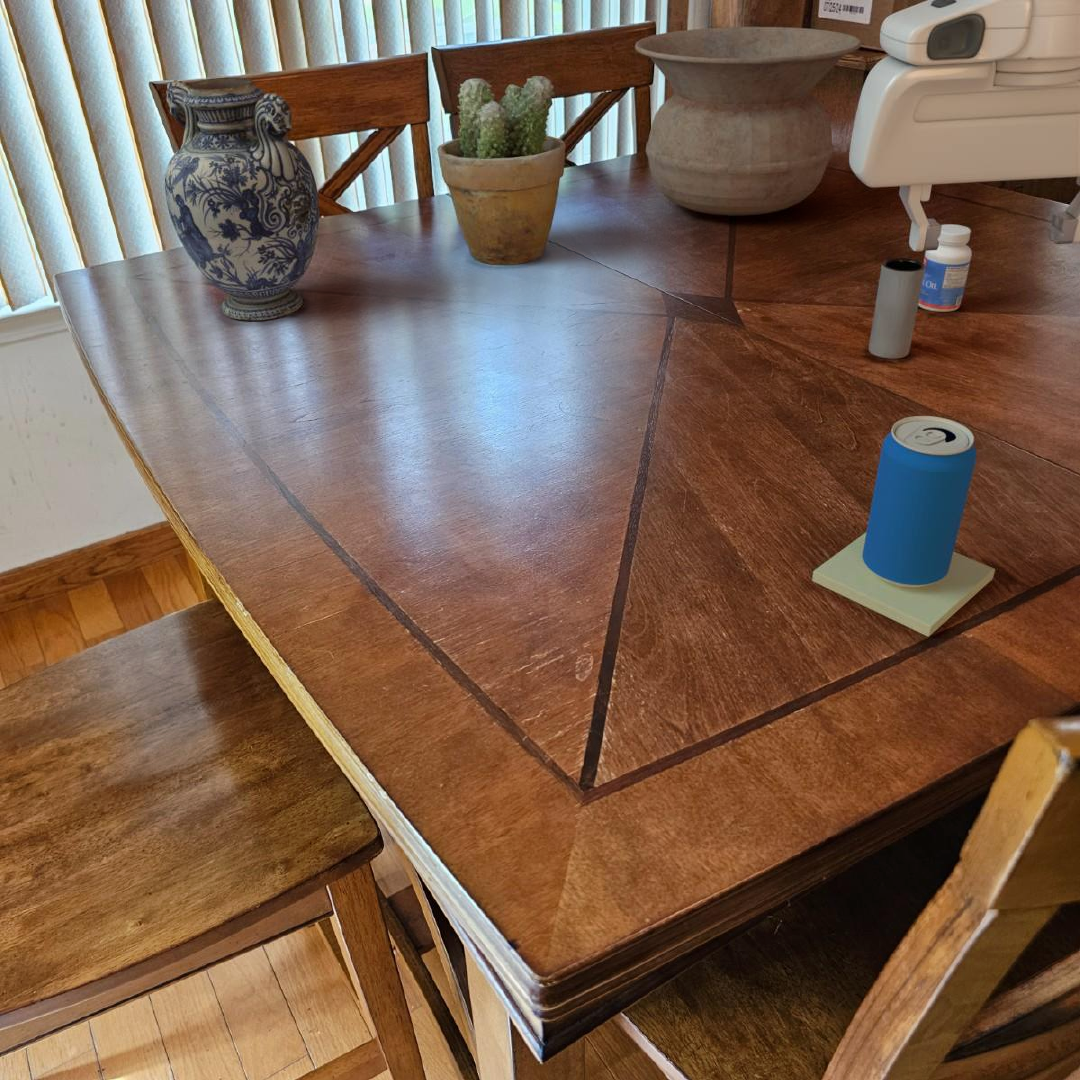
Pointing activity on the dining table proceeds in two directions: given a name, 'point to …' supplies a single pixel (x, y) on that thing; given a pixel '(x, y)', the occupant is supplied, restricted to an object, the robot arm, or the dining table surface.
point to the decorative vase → (242, 195)
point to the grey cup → (896, 307)
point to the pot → (742, 116)
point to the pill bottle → (946, 270)
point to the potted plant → (504, 170)
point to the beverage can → (919, 500)
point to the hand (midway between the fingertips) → (992, 245)
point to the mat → (903, 588)
